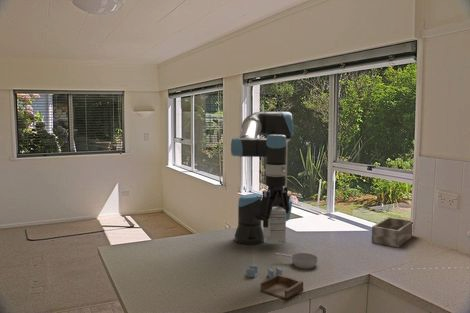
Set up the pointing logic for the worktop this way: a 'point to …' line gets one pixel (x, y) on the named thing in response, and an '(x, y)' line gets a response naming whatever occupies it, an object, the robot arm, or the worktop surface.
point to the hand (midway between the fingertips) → (274, 232)
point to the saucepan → (302, 260)
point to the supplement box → (277, 226)
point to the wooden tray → (282, 286)
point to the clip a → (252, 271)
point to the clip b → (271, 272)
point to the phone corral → (392, 232)
